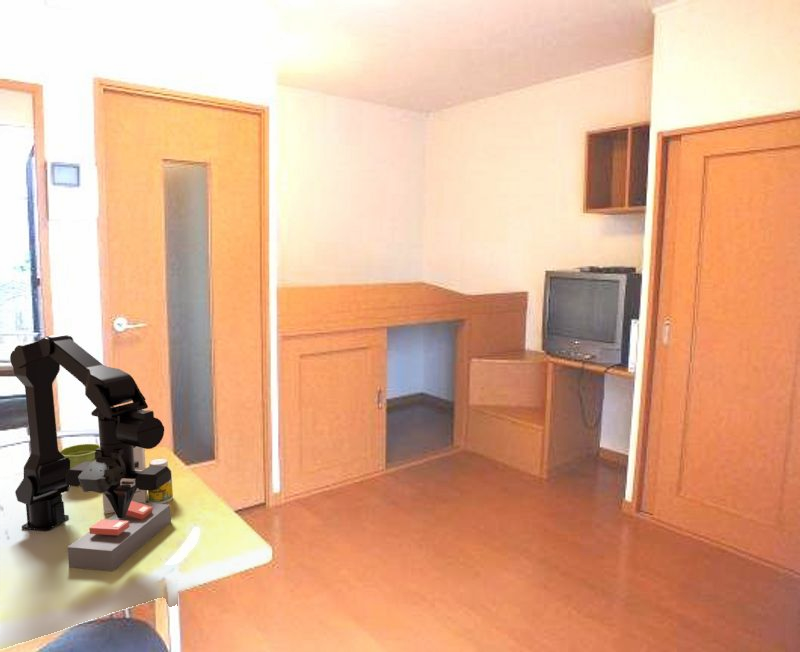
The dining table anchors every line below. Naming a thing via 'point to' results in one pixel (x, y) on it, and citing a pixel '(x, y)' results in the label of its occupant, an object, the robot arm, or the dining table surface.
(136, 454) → the supplement box
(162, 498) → the supplement bottle
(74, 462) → the plant pot
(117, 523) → the block
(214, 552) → the dining table surface
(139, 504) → the rocker back
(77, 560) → the long grey block
